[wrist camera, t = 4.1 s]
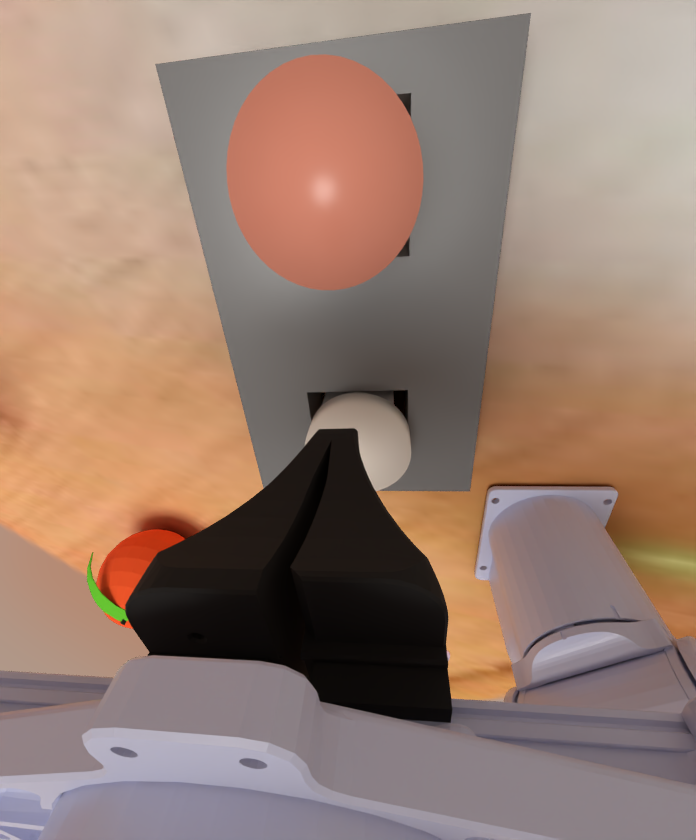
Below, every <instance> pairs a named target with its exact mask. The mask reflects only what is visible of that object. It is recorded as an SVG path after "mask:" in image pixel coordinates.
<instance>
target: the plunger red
mask: <svg viewBox="0 0 696 840" xmlns="http://www.w3.org/2000/svg"><path fill="white" fill-rule="evenodd" d="M226 170H227V185H228V192H229V198H230V202H231V206H232V209H233V213H234V215H235V218H236V221H237V223H238V226H239V228H240V230H241V232H242V233H243V235H244V237H245V239H246V240H247V242H248V244H249V245H250V247H251V248H252V249H253V251H254V252H255V253H256V254H257V256H258V257H259V258H260V259H261V260H262V261H263V262H264V263H265V264H266V265H267V266H268V267H269V268H271V269H272V270H273V271H274V272H276V273H277V274H278V275H280V276H282V277H283V278H285V279H287V280H288V281H290V282H293V283H295V284H297V285H300V286H303V287H307V288H310V289H317V290H340V289H346V288H349V287H353V286H356V285H358V284H361V283H363V282H366V281H367V280H369V279H371V278H372V277H374V276H376V275H377V274H378V273H380V272H381V271H382V270H383V269H385V268H386V267H387V266H388V265H389V264H390V263H391V262H392V261H393V260H394V259H395V257H396V256H397V255H398V254H399V252H400V251H401V250H402V248H403V247H404V245H405V243H406V241H407V240H408V238H409V236H410V234H411V232H412V230H413V227H414V225H415V222H416V219H417V216H418V213H419V209H420V204H421V199H422V192H423V161H422V154H421V147H420V144H419V140H418V136H417V132H416V130H415V127H414V125H413V122H412V120H411V117H410V115H409V113H408V112H407V110H406V108H405V106H404V104H403V103H402V101H401V100H400V99H399V97H398V96H397V94H396V93H395V92H394V90H393V89H392V88H391V87H390V86H389V85H388V84H387V83H386V82H385V81H384V80H383V79H382V78H381V77H380V76H378V75H377V74H376V73H374V72H373V71H372V70H370V69H369V68H367V67H365V66H363V65H361V64H359V63H358V62H356V61H353V60H350V59H347V58H344V57H341V56H334V55H327V54H323V55H309V56H304V57H300V58H296V59H294V60H291V61H289V62H286V63H284V64H282V65H280V66H279V67H277V68H276V69H274V70H273V71H271V72H270V73H269V74H267V75H266V76H265V77H264V78H263V79H262V80H261V81H260V82H259V83H258V84H257V85H256V86H255V87H254V89H253V90H252V91H251V92H250V94H249V95H248V97H247V98H246V100H245V101H244V103H243V105H242V106H241V108H240V111H239V113H238V115H237V117H236V120H235V122H234V125H233V129H232V132H231V135H230V140H229V145H228V151H227V165H226Z"/></svg>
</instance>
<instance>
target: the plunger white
mask: <svg viewBox="0 0 696 840" xmlns="http://www.w3.org/2000/svg"><path fill="white" fill-rule="evenodd" d="M343 428H355V429H356V430H357V431H358V439H359V451H360V456H361V459H362V461H363V464H364V467H365V470H366V472H367V475H368V477H369V479H370V481H371V483H372V485H373V487H374V489H375V491H378V490H381V489H384V488H386V487H388V486H390V485H392V484H393V483H395V482H396V481H397V480H399V479H400V478H401V477H402V475H403V474H404V473H405V471H406V470H407V468H408V466H409V463H410V460H411V442H410V431H409V426H408V423H407V421H406V419H405V417H404V415H403V414H402V413H401V411H400V410H399V409H398V408H397V407H396V406H395V405H394V394H393V390H388V391H347V392H326V394H325V397H324V400H323V403H322V406H321V407H320V408H319V409H318V410H317V412H316V413H315V415H314V416H313V419H312V421H311V424H310V427H309V430H308V433H307V436H306V440H305V445H306V444H307V443H308V441H309V440H310V439H311V438H312V436H313V435H314V434H315V433H316V432H317V431H318V430H319V429H343Z"/></svg>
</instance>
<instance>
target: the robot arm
mask: <svg viewBox="0 0 696 840" xmlns="http://www.w3.org/2000/svg"><path fill="white" fill-rule="evenodd" d="M617 497H618V492H617V491H616V490H615V488H613V487H563V486H493V487H491V488H490V489H488V492H487V497H486V504H485V510H484V516H483V522H482V529H481V535H480V541H479V547H478V554H477V560H476V566H475V577H476V578H477V579H479V580H489V582H490V586H491V590H492V594H493V598H494V602H495V606H496V610H497V614H498V618H499V622H500V626H501V629H502V633H503V637H504V641H505V645H506V649H507V652H508V655H509V658H510V660H511V662H512V665H511V666H512V670H513V674H514V678H515V682H516V686H517V687H513V688H511V689H510V690H509V691H508V692H507V693H506V695H505V698H504V702H496V701H480V700H464V699H451V694H450V686H449V678H448V670H447V668H448V657H447V650H446V637H447V627H448V610H447V606H446V602H445V598H444V595H443V592H442V590H441V587H440V584H439V582H438V580H437V577H436V575H435V573H434V571H433V569H432V566H431V564H430V562H429V560H428V558H427V557H426V556H425V555H424V554H423V553H422V552H421V551H420V550H419V549H418V548H417V547H416V546H415V545H414V544H413V543H412V542H411V541H410V539H409V538H408V537H407V536H406V535H405V534H404V532H403V531H402V530H401V529H400V527H399V526H398V525H397V523H396V522H395V521H394V519H393V518H392V517H391V515H390V514H389V513H388V511H387V510H386V508H385V506H384V505H383V503H382V502H381V500H380V498H379V497H378V495H377V493H376V491H375V489H374V487H373V485H372V483H371V481H370V479H369V477H368V475H367V472H366V470H365V467H364V464H363V461H362V459H361V456H360V451H359V439H358V431H357V430H356V429H355V428H343V429H319V430H318V431H317V432H316V433H315V434H314V435H313V436H312V438H311V439H310V440H309V441H308V443H307V444H306V445H305V446H304V447H303V449H302V450H301V451H300V452H299V453H298V454H297V456H296V457H295V458H294V459H293V460H292V461H291V462H290V463H289V464H288V466H287V467H286V468H285V469H284V470H283V471H282V472H281V473H280V474H279V475H278V476H277V477H276V478H275V479H274V480H273V481H272V482H271V483H269V484H268V485H267V486H266V487H265V488H264V489H263V490H261V491H260V492H259V493H258V494H256V495H255V496H254V497H253V498H251V499H250V500H249V501H247V502H246V503H245V504H243V505H242V506H240V507H239V508H237V509H236V510H235V511H233V512H232V513H230V514H229V515H227V516H226V517H224V518H223V519H221V520H219V521H218V522H216V523H214V524H213V525H211V526H209V527H208V528H206V529H204V530H202V531H200V532H199V533H197V534H195V535H193V536H191V537H189V538H187V539H185V540H183V541H181V542H179V543H177V544H175V545H173V546H171V547H169V548H167V549H164V550H162V551H160V552H158V553H157V554H156V556H155V557H154V559H153V560H152V562H151V563H150V565H149V566H148V568H147V569H146V571H145V573H144V574H143V576H142V577H141V579H140V581H139V582H138V584H137V586H136V587H135V589H134V590H133V592H132V594H131V595H130V597H129V599H128V601H127V602H126V604H125V613H126V616H127V618H128V620H129V622H130V625H131V626H132V627H133V629H134V630H135V632H136V633H137V635H138V636H139V637H140V639H141V640H142V642H143V643H144V645H145V646H146V647H147V649H148V650H149V654H148V656H143V657H135V658H132V659H130V660H128V661H127V662H126V663H125V664H123V666H121V667H120V668H119V669H118V671H117V673H116V675H115V676H114V678H110V677H95V676H79V675H78V676H77V675H63V674H62V675H61V674H46V673H30V672H14V671H0V840H696V639H695V638H693V637H691V636H686V637H683V638H680V639H676V638H675V637H674V636H673V635H672V634H671V632H670V631H669V629H668V627H667V626H666V624H665V623H664V621H663V619H662V618H661V616H660V615H659V613H658V612H657V610H656V608H655V607H654V605H653V604H652V602H651V601H650V599H649V597H648V596H647V594H646V593H645V591H644V589H643V588H642V586H641V585H640V583H639V582H638V580H637V578H636V577H635V575H634V574H633V572H632V571H631V569H630V567H629V566H628V564H627V563H626V561H625V559H624V558H623V556H622V555H621V553H620V552H619V550H618V548H617V547H616V545H615V544H614V542H613V541H612V539H611V537H610V536H609V534H608V533H607V531H606V529H605V526H606V524H607V521H608V519H609V517H610V514H611V512H612V509H613V507H614V504H615V502H616V499H617ZM494 498H497V499H495V500H492V499H494ZM606 499H607V500H606ZM604 500H605V501H604Z"/></svg>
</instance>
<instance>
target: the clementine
mask: <svg viewBox="0 0 696 840" xmlns="http://www.w3.org/2000/svg"><path fill="white" fill-rule="evenodd" d="M183 540H185V538H184V537H182V536H181V535H179V534H177V533H175V532H172V531H168V530H160V529H153V530H147V531H143V532H139V533H136V534H134V535H131V536H130V537H128V538H126V539H125V540H123V541H122V542H120V543H119V544H118V545H117V546H116V547H115V548H114V549H113V550H112V551H111V552H110V553H109V554H108V555H107V557H106V559H105V560H104V562H103V564H102V566H101V568H100V571H99V574H98V578H97V582H96V583H95V581H94V579H93V576H92V571H91V561H92V556H93V552H92V555H91V558H90V561H89V565H88V568H87V582H88V585H89V589H90V592H91V594H92V597H93V599H94V600H95V602H96V603H97V605H98V606H99V607H100V608H101V609H102V610H103V611H104V613H105V615H106V616H107V617H108V618H109V619H110V620H111V621H113V622H114V623H116V624H118V625H121V626H123V627H127V628H132V629H133V627H132V626H131V625H130V622H129V620H128V618H127V616H126V613H125V604H126V602H127V601H128V599H129V597H130V595H131V594H132V592H133V590H134V589H135V587H136V586H137V584H138V582H139V581H140V579H141V577H142V576H143V574H144V573H145V571H146V569H147V568H148V566H149V565H150V563H151V562H152V560H153V559H154V557H155V556H156V554H157V553H158V552H160V551H162V550H164V549H167V548H169V547H171V546H173V545H175V544H177V543H179V542H181V541H183Z"/></svg>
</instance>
